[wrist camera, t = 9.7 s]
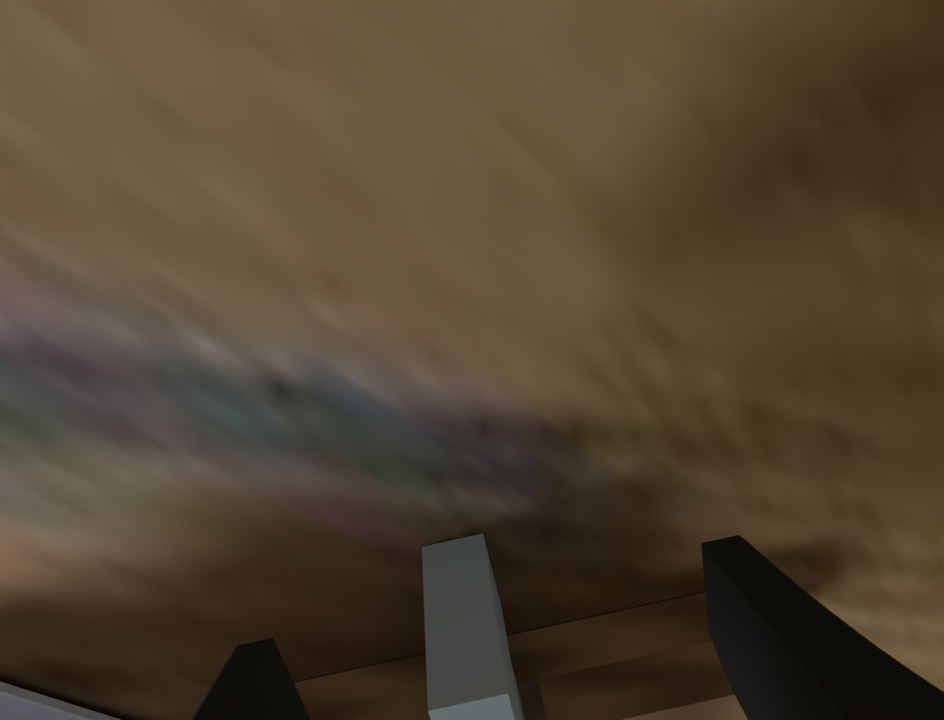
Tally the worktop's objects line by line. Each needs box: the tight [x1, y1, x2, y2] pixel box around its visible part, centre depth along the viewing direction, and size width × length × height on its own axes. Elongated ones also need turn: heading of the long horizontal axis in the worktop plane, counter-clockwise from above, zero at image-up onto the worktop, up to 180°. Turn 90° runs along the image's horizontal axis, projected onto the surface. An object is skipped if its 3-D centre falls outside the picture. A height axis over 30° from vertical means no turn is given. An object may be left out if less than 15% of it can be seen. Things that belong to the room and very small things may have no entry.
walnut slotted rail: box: [294, 592, 748, 720], centre depth 24 cm, size 18×2×4 cm, turn 102°
